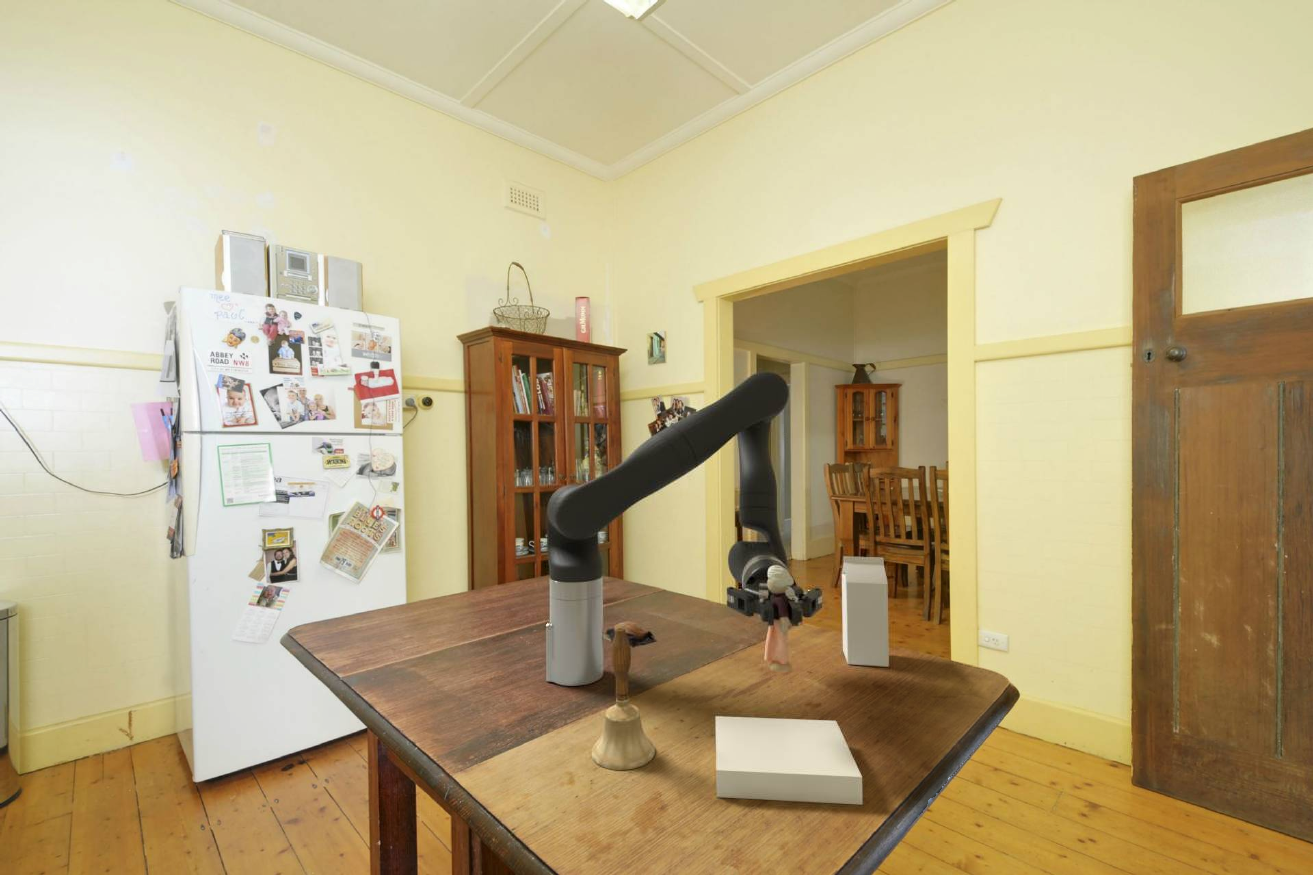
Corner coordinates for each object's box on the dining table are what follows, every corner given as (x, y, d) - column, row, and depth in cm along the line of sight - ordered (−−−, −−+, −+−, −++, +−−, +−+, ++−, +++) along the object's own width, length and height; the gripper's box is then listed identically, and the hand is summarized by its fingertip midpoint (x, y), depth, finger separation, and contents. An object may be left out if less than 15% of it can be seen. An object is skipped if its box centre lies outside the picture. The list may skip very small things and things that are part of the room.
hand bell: (609, 778, 67) (608, 644, 68) (580, 747, 74) (580, 626, 75) (667, 757, 72) (666, 631, 72) (635, 730, 79) (634, 616, 79)
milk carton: (889, 667, 101) (887, 561, 101) (847, 665, 102) (846, 560, 103) (881, 653, 108) (879, 554, 108) (842, 651, 109) (841, 553, 110)
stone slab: (716, 797, 64) (716, 770, 64) (715, 738, 76) (715, 716, 77) (862, 804, 62) (862, 777, 62) (836, 743, 75) (836, 720, 75)
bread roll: (597, 639, 119) (597, 621, 120) (629, 630, 125) (629, 613, 125) (627, 652, 111) (627, 633, 111) (660, 642, 117) (660, 624, 117)
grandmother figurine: (756, 655, 75) (754, 560, 75) (784, 654, 75) (782, 559, 76) (774, 679, 67) (772, 573, 68) (805, 677, 68) (803, 572, 68)
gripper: (721, 558, 86) (725, 586, 69) (813, 559, 85) (841, 587, 68) (722, 607, 86) (726, 647, 69) (814, 608, 85) (842, 650, 68)
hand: (783, 617), depth 69 cm, fingers closed on grandmother figurine, 2 cm apart
